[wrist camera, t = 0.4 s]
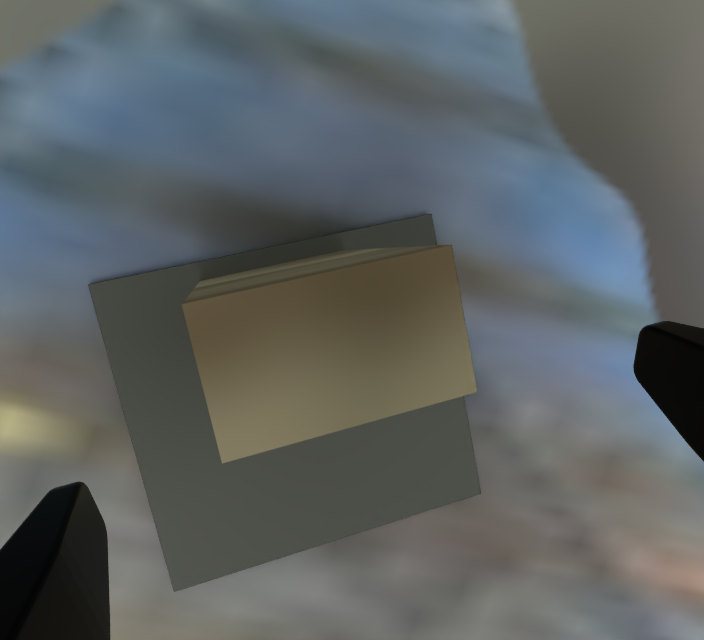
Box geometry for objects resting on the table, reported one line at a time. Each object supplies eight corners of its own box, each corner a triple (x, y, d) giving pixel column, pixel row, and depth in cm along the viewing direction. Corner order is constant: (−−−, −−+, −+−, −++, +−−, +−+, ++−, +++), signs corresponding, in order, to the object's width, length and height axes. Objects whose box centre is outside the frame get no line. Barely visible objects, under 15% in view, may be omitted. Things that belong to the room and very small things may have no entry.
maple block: (362, 331, 24) (477, 392, 13) (220, 366, 23) (221, 463, 12) (345, 250, 23) (451, 244, 13) (199, 281, 22) (181, 304, 11)
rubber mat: (477, 490, 26) (481, 493, 26) (174, 586, 24) (173, 591, 23) (427, 214, 24) (431, 213, 24) (90, 284, 22) (88, 284, 21)
